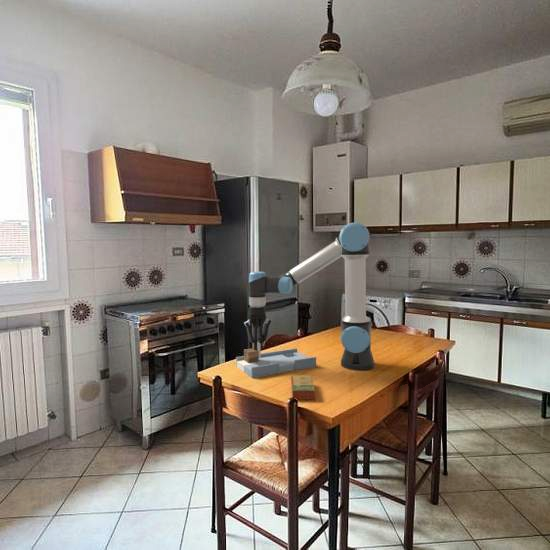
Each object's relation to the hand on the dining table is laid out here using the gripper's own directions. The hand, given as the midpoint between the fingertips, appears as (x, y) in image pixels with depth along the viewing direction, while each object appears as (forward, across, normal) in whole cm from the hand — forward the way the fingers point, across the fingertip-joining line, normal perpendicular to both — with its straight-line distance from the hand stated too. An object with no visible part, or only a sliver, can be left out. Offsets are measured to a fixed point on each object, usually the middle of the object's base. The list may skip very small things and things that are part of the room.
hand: (257, 356), depth 183 cm
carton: (+5, -2, +37) cm, 37 cm away
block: (+2, +3, 0) cm, 4 cm away
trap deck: (+5, -7, +4) cm, 10 cm away
